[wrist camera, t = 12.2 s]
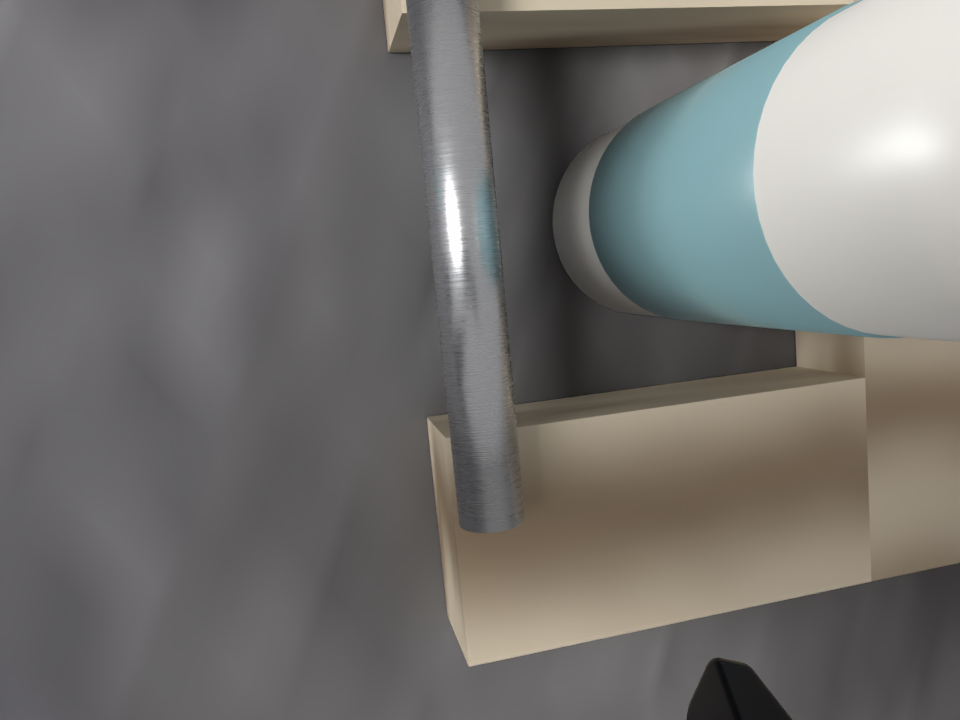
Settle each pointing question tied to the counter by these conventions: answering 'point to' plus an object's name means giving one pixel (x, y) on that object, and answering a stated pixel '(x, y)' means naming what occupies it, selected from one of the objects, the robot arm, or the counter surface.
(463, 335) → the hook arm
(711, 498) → the light wood flat tray
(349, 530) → the counter surface
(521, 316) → the counter surface
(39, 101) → the counter surface
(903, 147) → the white teal rounded cylinder
